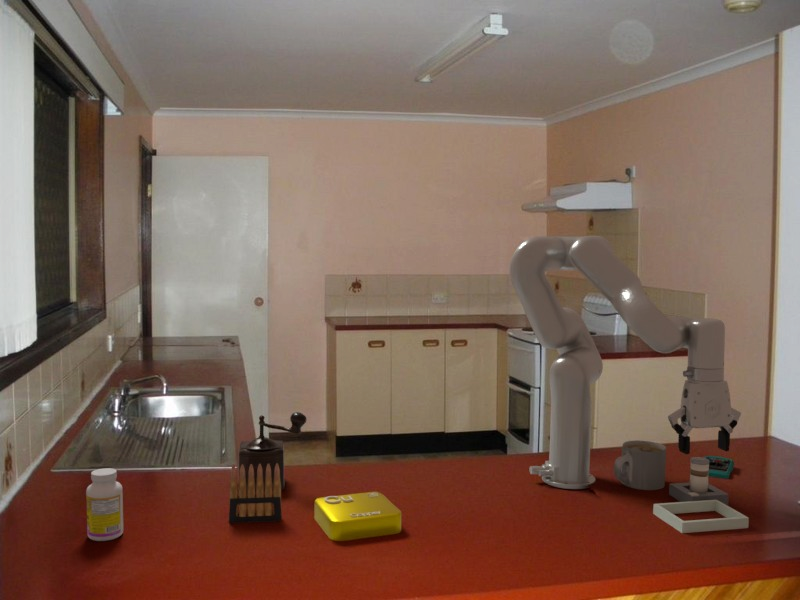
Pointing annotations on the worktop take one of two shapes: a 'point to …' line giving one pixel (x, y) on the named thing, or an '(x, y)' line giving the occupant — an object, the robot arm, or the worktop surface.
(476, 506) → the worktop surface
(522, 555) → the worktop surface
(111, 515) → the supplement bottle
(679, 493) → the fuse holder
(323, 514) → the element tile
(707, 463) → the cylinder
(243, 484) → the ammunition clip
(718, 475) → the digital multimeter
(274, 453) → the manual coffee grinder
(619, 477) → the coffee mug
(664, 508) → the parts tray
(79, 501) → the worktop surface
